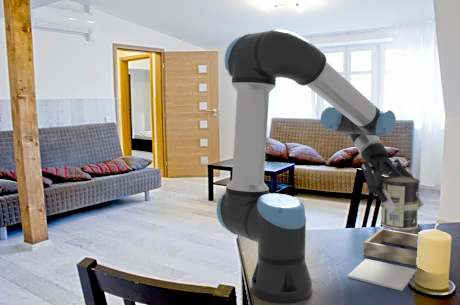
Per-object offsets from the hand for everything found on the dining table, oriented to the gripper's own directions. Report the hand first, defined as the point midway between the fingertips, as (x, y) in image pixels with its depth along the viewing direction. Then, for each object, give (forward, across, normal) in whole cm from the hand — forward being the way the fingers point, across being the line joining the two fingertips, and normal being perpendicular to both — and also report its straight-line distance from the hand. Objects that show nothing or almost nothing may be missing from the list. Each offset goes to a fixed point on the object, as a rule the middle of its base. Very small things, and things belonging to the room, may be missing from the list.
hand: (407, 208), depth 125 cm
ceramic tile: (+15, +14, -6) cm, 22 cm away
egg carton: (-1, -18, -23) cm, 29 cm away
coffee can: (+2, 0, -6) cm, 7 cm away
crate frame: (+8, -2, -14) cm, 16 cm away
